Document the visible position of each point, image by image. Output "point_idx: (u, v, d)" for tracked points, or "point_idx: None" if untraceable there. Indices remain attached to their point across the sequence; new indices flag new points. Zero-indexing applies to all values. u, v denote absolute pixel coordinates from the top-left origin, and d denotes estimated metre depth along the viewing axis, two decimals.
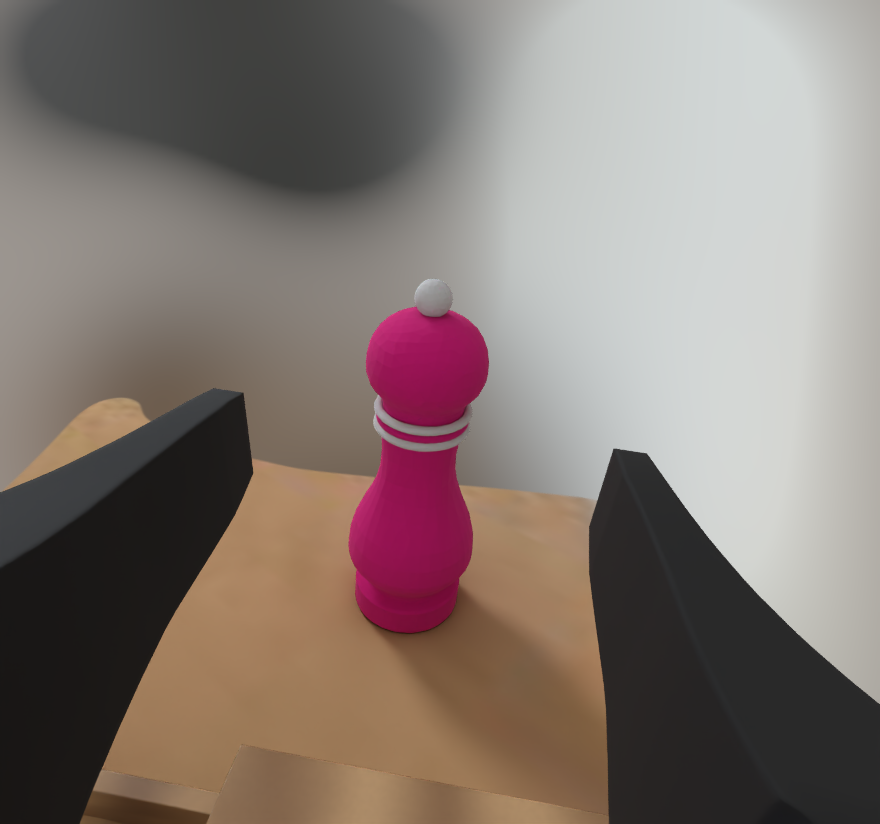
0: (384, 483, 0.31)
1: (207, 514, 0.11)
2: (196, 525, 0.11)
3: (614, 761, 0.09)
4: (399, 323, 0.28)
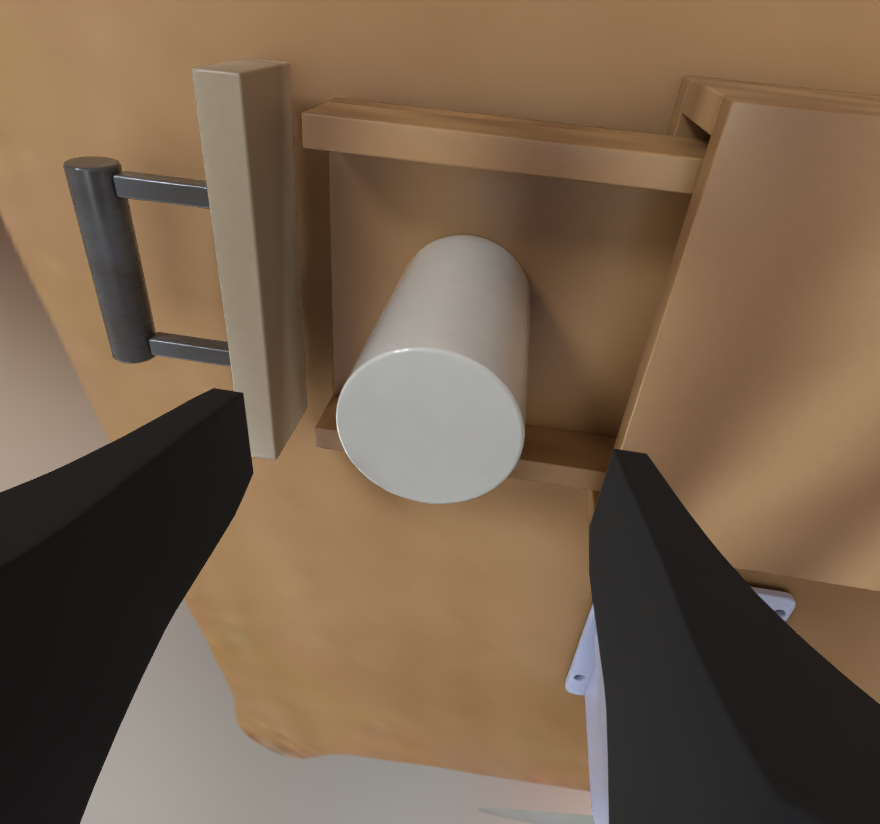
0: None
1: (207, 514, 0.11)
2: (196, 525, 0.11)
3: (614, 761, 0.09)
4: None
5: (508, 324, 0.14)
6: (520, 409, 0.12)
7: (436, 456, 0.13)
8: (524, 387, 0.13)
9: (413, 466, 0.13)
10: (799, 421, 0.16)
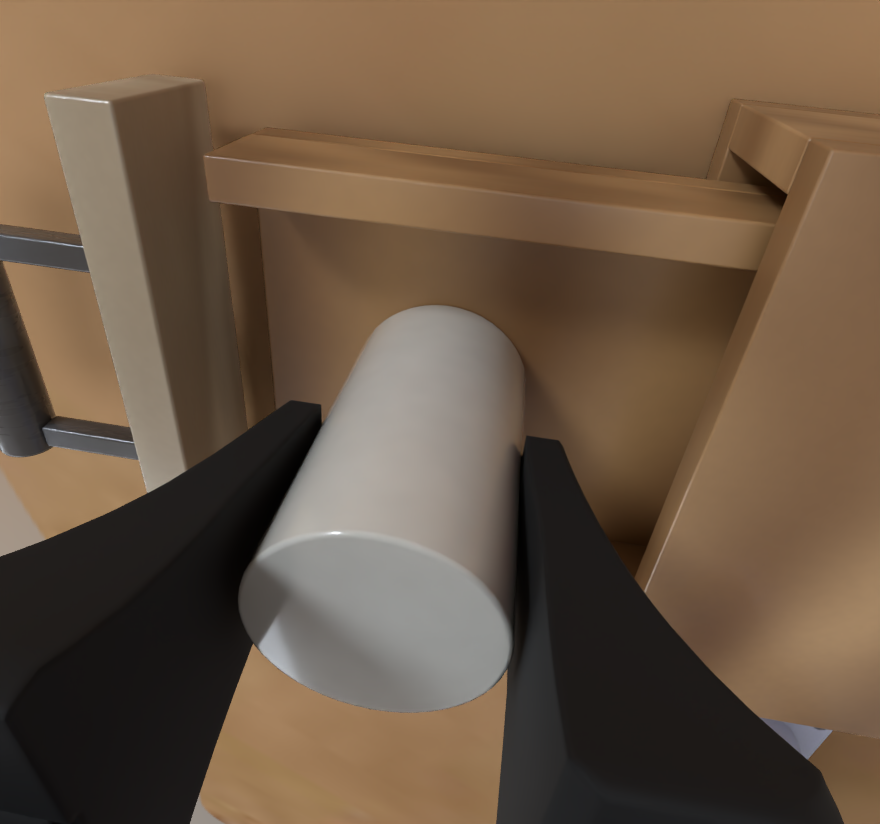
0: None
1: None
2: None
3: (506, 741, 0.09)
4: None
5: (493, 455, 0.10)
6: (507, 612, 0.08)
7: (385, 662, 0.09)
8: (514, 558, 0.09)
9: (354, 670, 0.09)
10: None
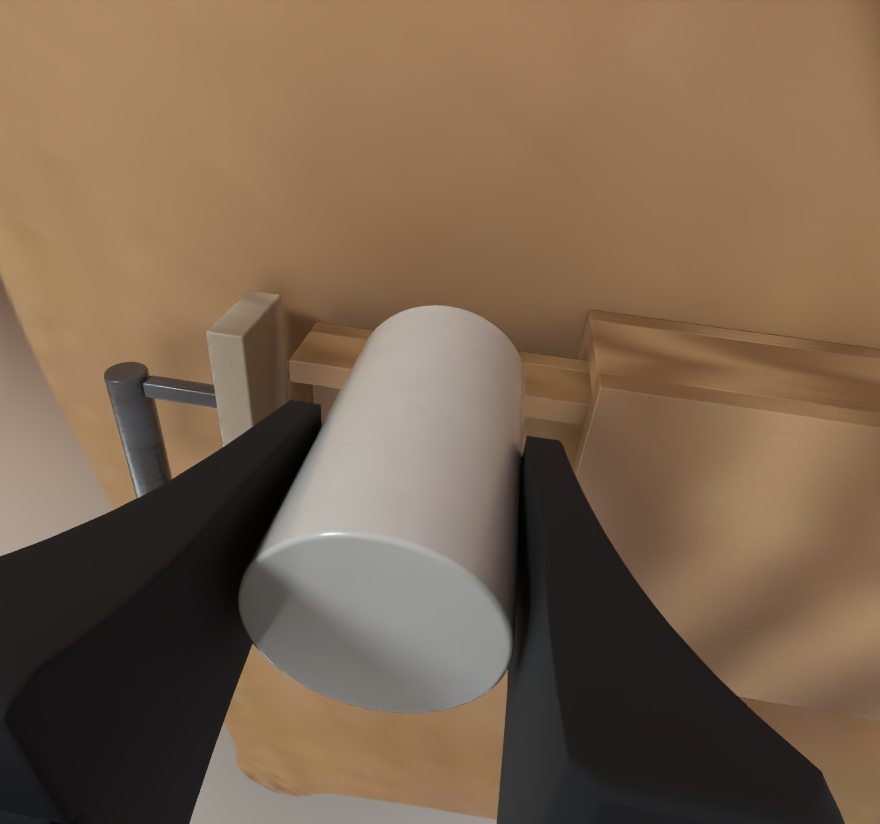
0: None
1: None
2: None
3: (506, 741, 0.09)
4: None
5: (493, 457, 0.10)
6: (507, 613, 0.08)
7: (386, 662, 0.09)
8: (514, 559, 0.09)
9: (354, 671, 0.09)
10: (675, 582, 0.20)
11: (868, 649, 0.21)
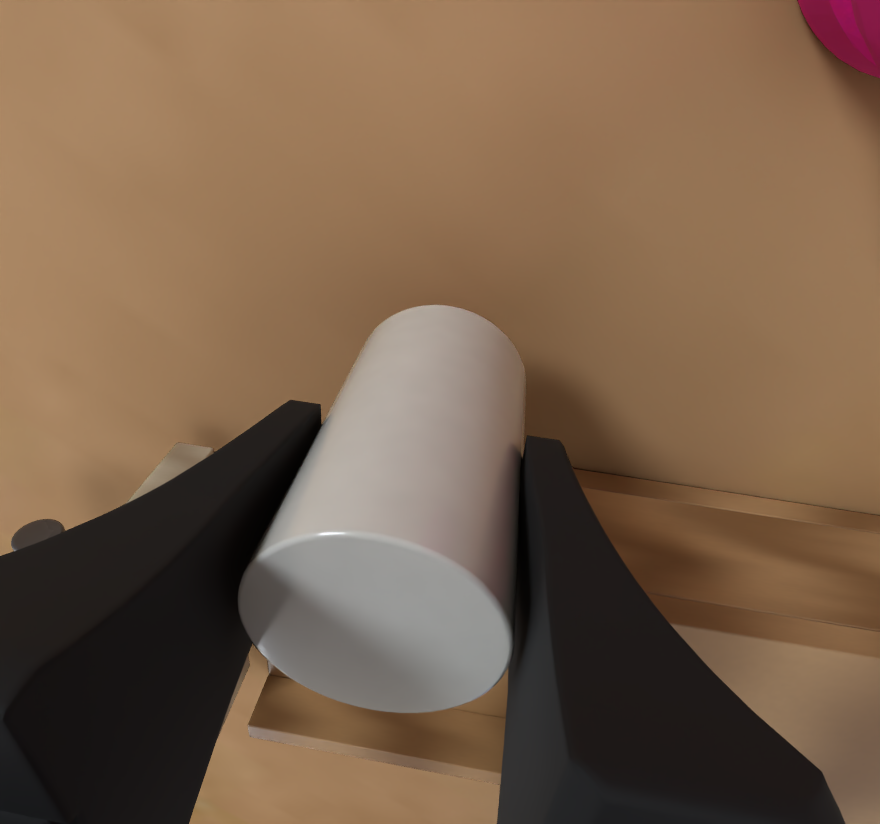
0: None
1: None
2: None
3: (506, 741, 0.09)
4: None
5: (493, 456, 0.10)
6: (507, 612, 0.08)
7: (386, 662, 0.09)
8: (514, 558, 0.09)
9: (354, 671, 0.09)
10: None
11: None
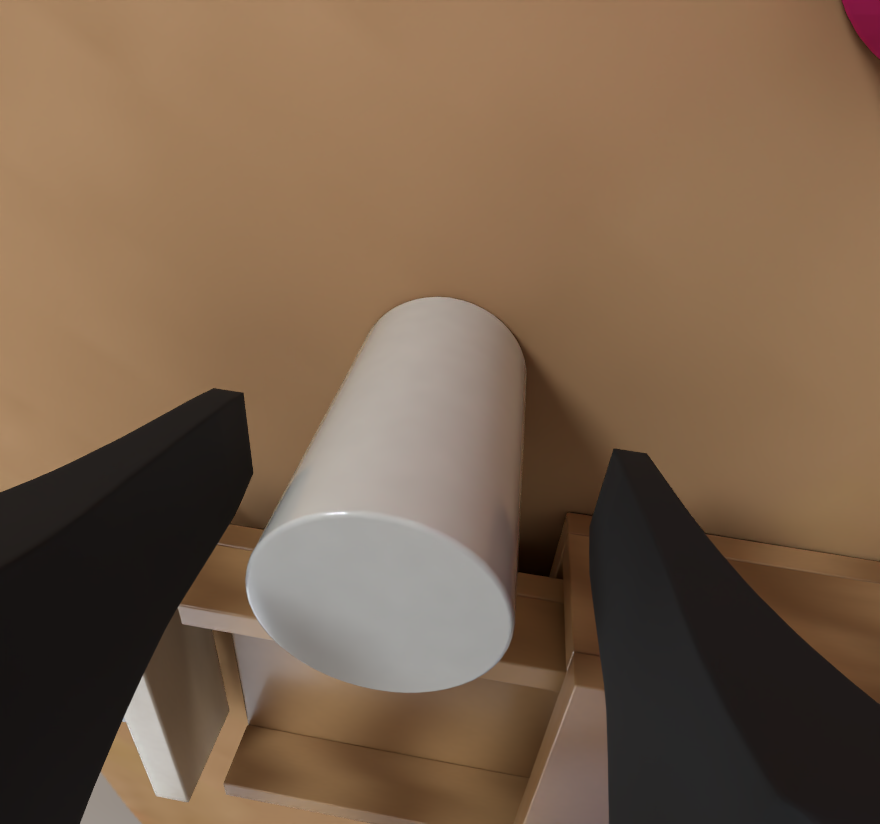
0: None
1: (207, 514, 0.11)
2: (196, 525, 0.11)
3: (614, 761, 0.09)
4: None
5: (495, 442, 0.10)
6: (508, 591, 0.08)
7: (390, 642, 0.09)
8: (515, 541, 0.09)
9: (358, 650, 0.09)
10: None
11: None
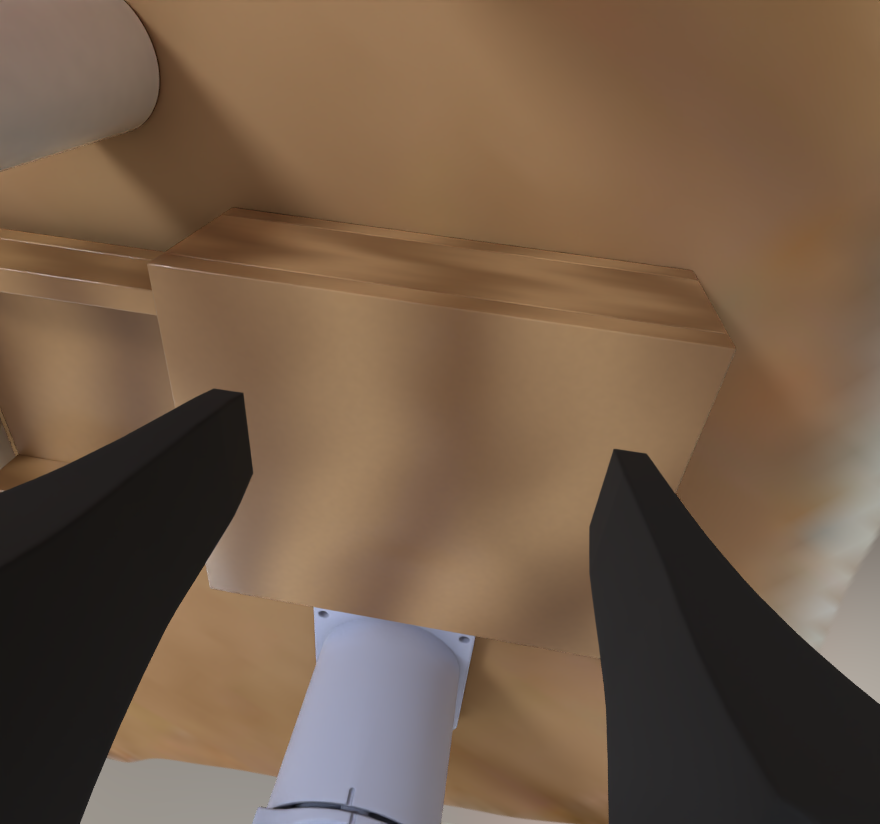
0: None
1: (207, 514, 0.11)
2: (196, 525, 0.11)
3: (614, 761, 0.09)
4: None
5: (12, 2, 0.13)
6: None
7: None
8: None
9: None
10: (314, 496, 0.19)
11: (526, 569, 0.19)
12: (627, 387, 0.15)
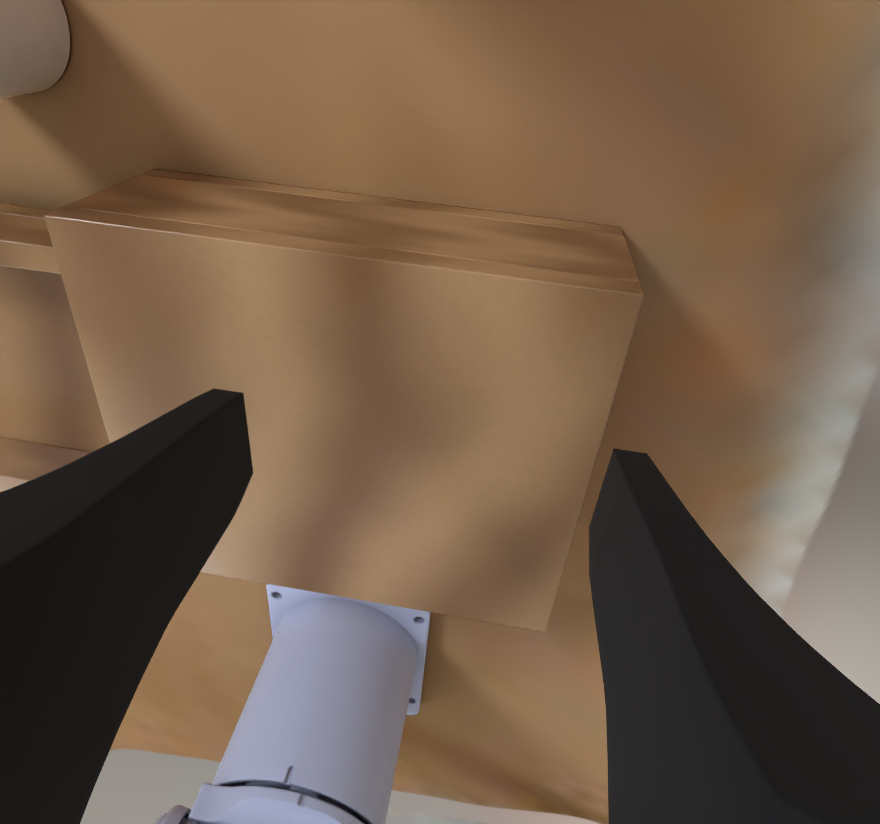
0: None
1: (207, 514, 0.11)
2: (196, 525, 0.11)
3: (614, 761, 0.09)
4: None
5: None
6: None
7: None
8: None
9: None
10: None
11: (456, 537, 0.19)
12: (538, 338, 0.15)
